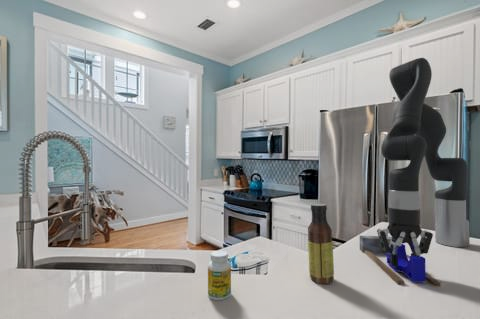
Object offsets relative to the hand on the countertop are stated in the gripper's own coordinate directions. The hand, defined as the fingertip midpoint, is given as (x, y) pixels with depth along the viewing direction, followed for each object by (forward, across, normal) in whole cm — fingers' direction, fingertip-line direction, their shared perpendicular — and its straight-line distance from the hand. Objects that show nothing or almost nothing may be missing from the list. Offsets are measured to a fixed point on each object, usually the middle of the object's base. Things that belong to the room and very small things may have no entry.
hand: (404, 267), depth 70 cm
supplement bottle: (+2, +49, +18) cm, 52 cm away
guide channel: (+2, 0, -6) cm, 6 cm away
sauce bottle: (+2, +24, +7) cm, 25 cm away
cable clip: (+1, 0, 0) cm, 1 cm away
